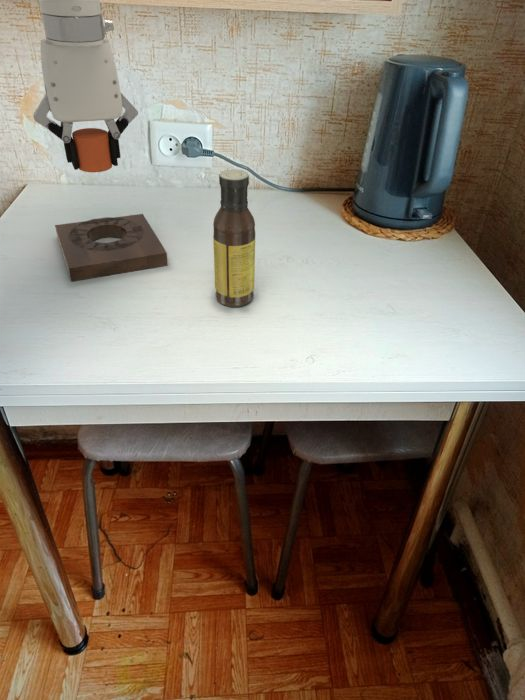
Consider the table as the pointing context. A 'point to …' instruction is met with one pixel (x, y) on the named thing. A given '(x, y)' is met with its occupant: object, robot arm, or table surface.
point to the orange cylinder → (92, 149)
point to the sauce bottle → (234, 241)
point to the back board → (109, 246)
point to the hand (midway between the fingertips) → (94, 163)
